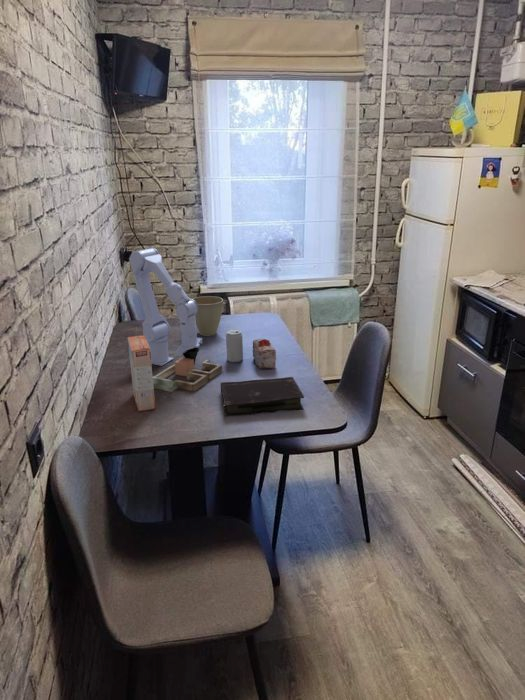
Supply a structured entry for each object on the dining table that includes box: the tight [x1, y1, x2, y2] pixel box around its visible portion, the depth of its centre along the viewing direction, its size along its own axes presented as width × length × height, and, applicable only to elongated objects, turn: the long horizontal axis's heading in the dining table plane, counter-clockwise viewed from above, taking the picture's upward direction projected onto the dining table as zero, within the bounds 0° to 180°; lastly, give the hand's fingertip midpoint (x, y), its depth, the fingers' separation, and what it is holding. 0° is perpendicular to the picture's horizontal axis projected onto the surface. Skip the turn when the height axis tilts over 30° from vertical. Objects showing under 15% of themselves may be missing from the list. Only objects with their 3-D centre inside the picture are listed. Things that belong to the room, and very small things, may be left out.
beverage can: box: [225, 329, 244, 363], centre depth 192 cm, size 6×6×12 cm
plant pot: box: [192, 295, 224, 337], centre depth 223 cm, size 15×15×16 cm
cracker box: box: [127, 335, 156, 412], centre depth 158 cm, size 14×6×21 cm, turn 20°
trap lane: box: [153, 359, 223, 393], centre depth 178 cm, size 17×25×4 cm
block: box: [174, 356, 195, 378], centre depth 182 cm, size 5×5×5 cm
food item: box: [252, 338, 277, 370], centre depth 189 cm, size 14×8×10 cm, turn 15°
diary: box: [220, 376, 305, 417], centre depth 160 cm, size 19×25×5 cm
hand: (191, 366), depth 186 cm, fingers closed
